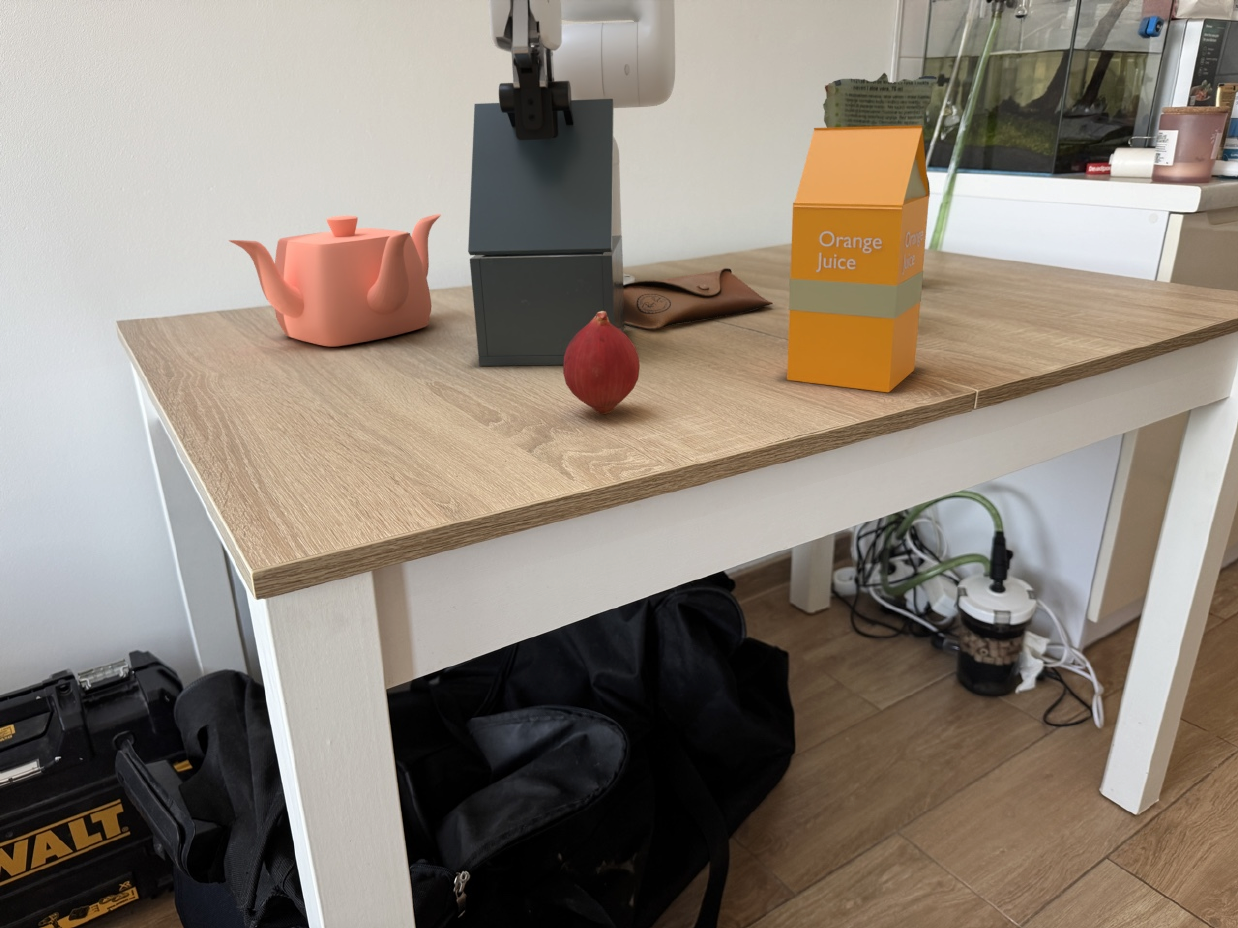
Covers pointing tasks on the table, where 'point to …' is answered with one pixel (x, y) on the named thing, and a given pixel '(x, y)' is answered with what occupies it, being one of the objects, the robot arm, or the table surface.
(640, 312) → the sunglasses case
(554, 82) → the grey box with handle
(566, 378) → the onion
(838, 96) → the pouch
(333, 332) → the pot
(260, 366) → the table surface
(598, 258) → the dark box
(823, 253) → the orange juice
